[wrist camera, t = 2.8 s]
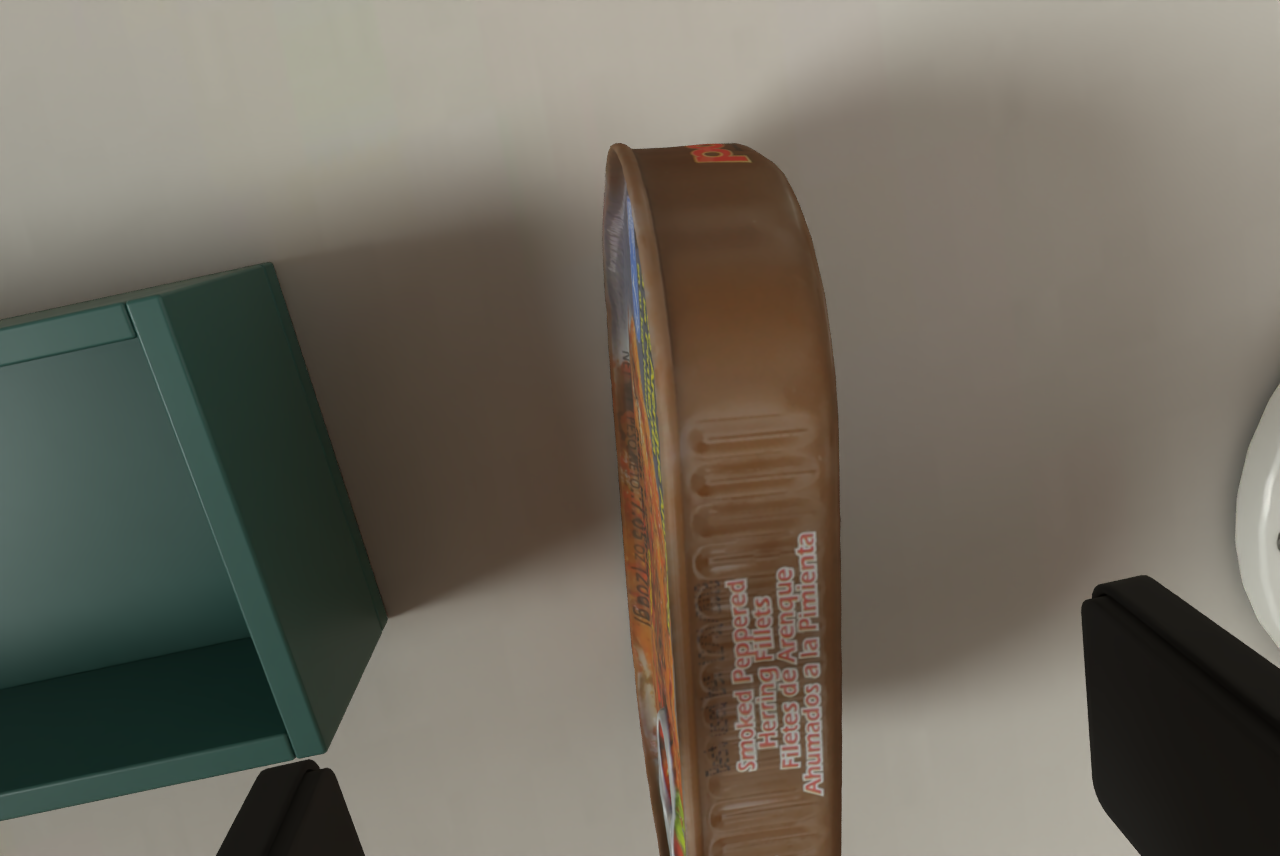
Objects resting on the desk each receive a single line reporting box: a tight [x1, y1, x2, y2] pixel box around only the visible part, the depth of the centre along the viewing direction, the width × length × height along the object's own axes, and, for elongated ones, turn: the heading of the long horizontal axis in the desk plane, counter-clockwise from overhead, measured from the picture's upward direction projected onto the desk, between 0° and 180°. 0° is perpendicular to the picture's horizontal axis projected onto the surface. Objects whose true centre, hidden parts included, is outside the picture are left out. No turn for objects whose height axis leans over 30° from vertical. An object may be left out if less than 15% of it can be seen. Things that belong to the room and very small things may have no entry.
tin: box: [602, 143, 842, 856], centre depth 17 cm, size 15×3×8 cm, turn 4°
